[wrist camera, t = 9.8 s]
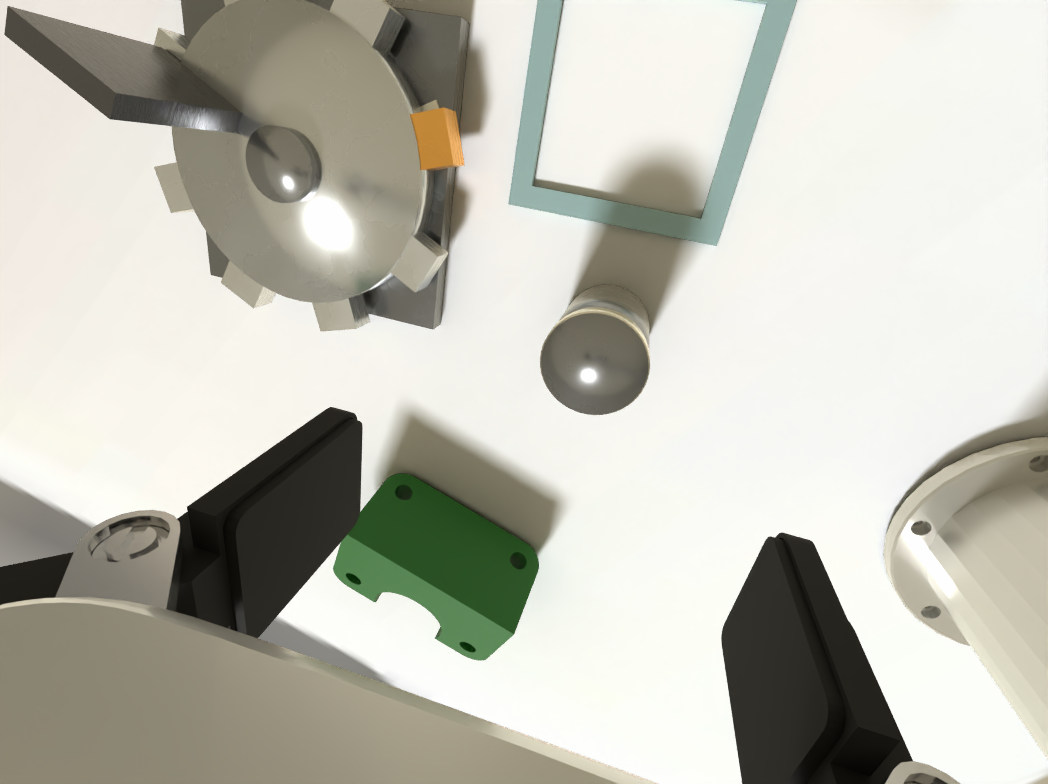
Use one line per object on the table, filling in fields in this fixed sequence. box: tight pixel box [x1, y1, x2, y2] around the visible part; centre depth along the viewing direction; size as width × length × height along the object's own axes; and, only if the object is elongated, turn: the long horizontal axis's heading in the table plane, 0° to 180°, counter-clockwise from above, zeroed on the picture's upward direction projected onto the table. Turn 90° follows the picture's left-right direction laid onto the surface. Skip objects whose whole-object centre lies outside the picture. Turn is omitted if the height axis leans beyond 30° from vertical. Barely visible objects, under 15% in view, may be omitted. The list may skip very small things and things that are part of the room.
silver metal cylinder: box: [540, 285, 650, 415], centre depth 23 cm, size 4×4×6 cm
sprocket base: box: [181, 0, 469, 329], centre depth 25 cm, size 14×14×1 cm
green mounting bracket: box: [333, 473, 539, 660], centre depth 31 cm, size 12×6×9 cm, turn 56°
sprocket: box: [5, 0, 464, 331], centre depth 21 cm, size 16×16×8 cm
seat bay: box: [509, 0, 797, 246], centre depth 21 cm, size 10×10×1 cm
